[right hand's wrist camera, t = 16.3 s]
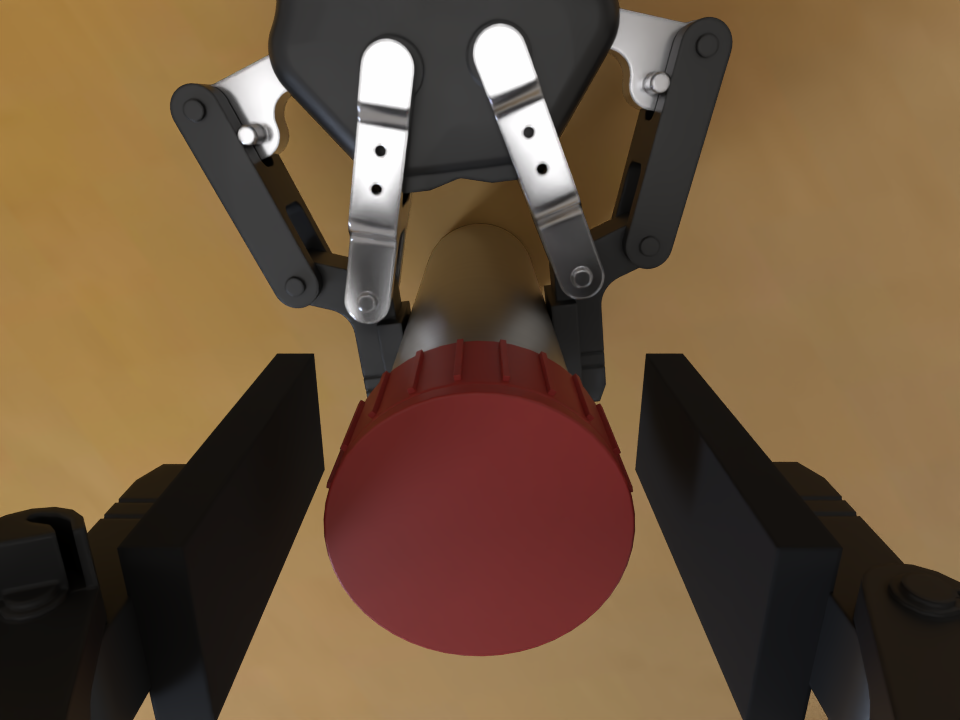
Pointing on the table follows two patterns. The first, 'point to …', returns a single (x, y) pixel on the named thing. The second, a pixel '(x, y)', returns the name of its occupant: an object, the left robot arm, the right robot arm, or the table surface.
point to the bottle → (479, 296)
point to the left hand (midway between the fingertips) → (491, 417)
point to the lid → (479, 501)
